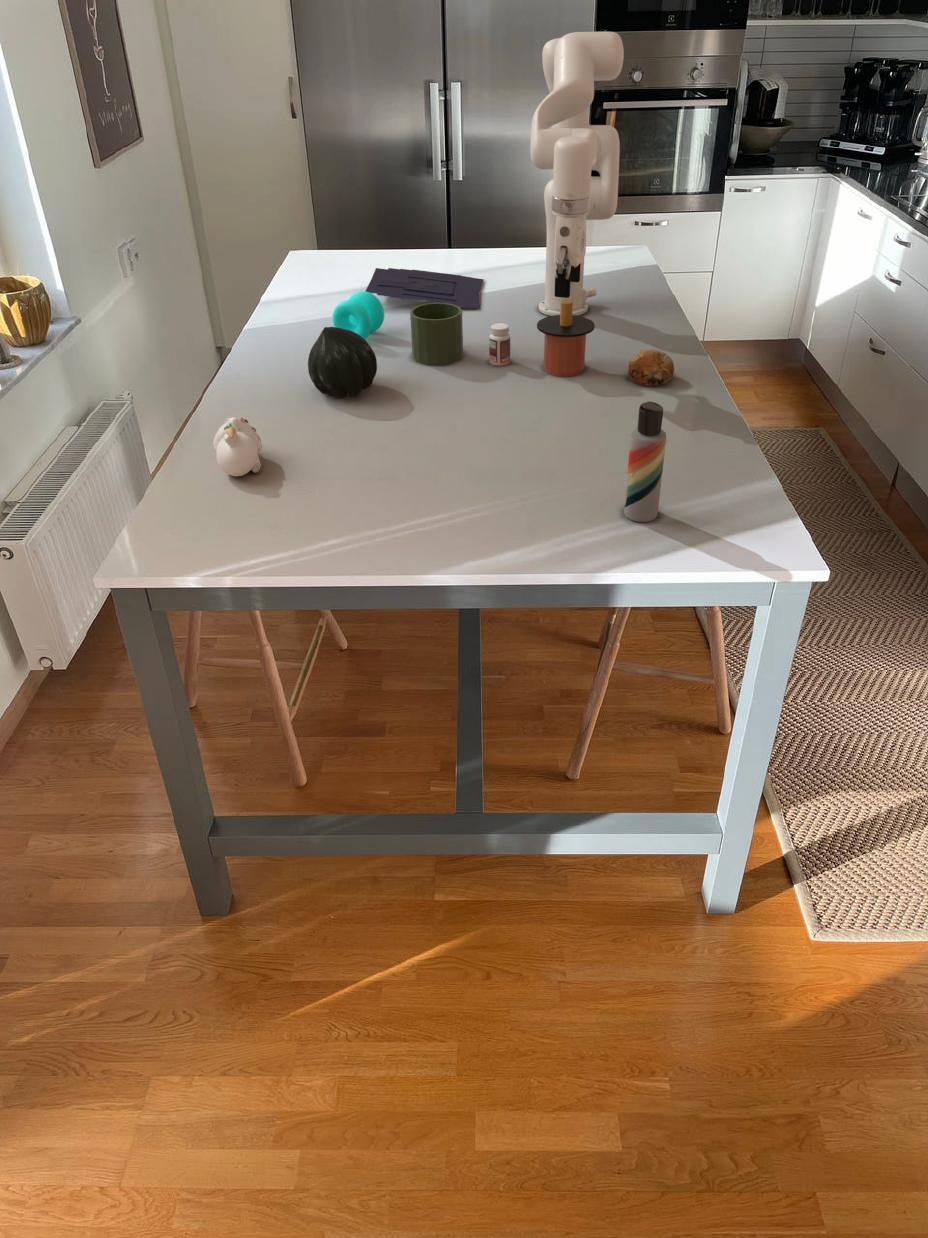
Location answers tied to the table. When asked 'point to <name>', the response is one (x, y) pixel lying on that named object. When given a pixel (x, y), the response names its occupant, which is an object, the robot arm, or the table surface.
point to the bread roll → (651, 368)
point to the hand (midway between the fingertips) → (567, 288)
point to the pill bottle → (499, 344)
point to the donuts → (359, 314)
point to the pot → (436, 333)
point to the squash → (341, 363)
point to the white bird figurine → (237, 447)
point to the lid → (565, 323)
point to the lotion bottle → (645, 464)
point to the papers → (426, 286)
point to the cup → (564, 355)
